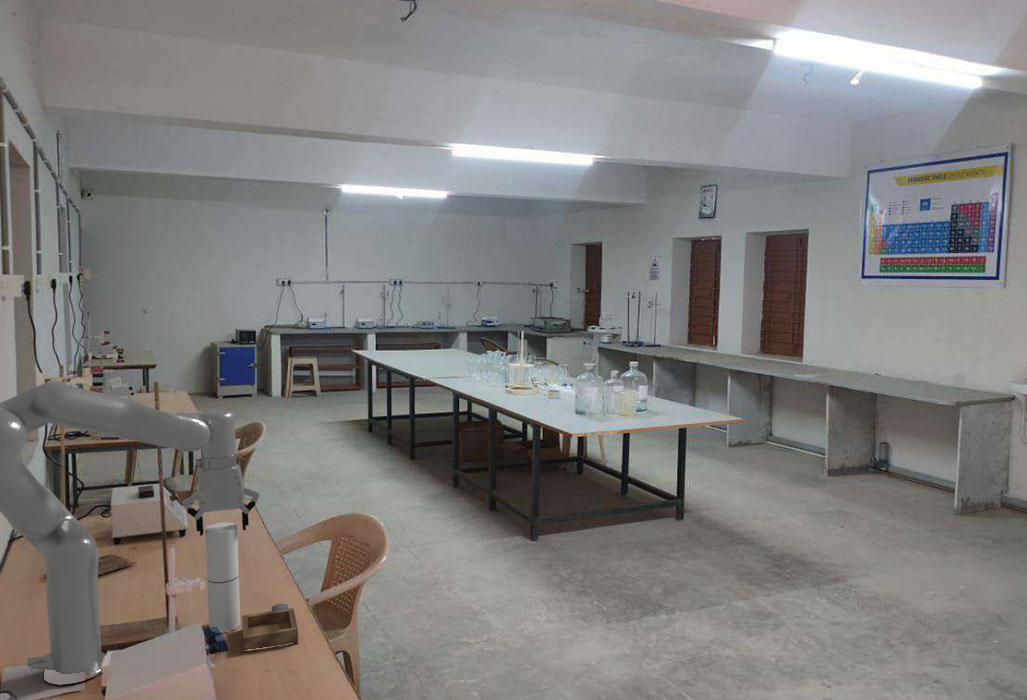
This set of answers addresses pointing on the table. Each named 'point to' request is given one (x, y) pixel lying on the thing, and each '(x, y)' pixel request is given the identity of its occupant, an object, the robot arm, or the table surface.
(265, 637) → the walnut stand
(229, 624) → the cylindrical container
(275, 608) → the rubber stopper
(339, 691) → the table surface
